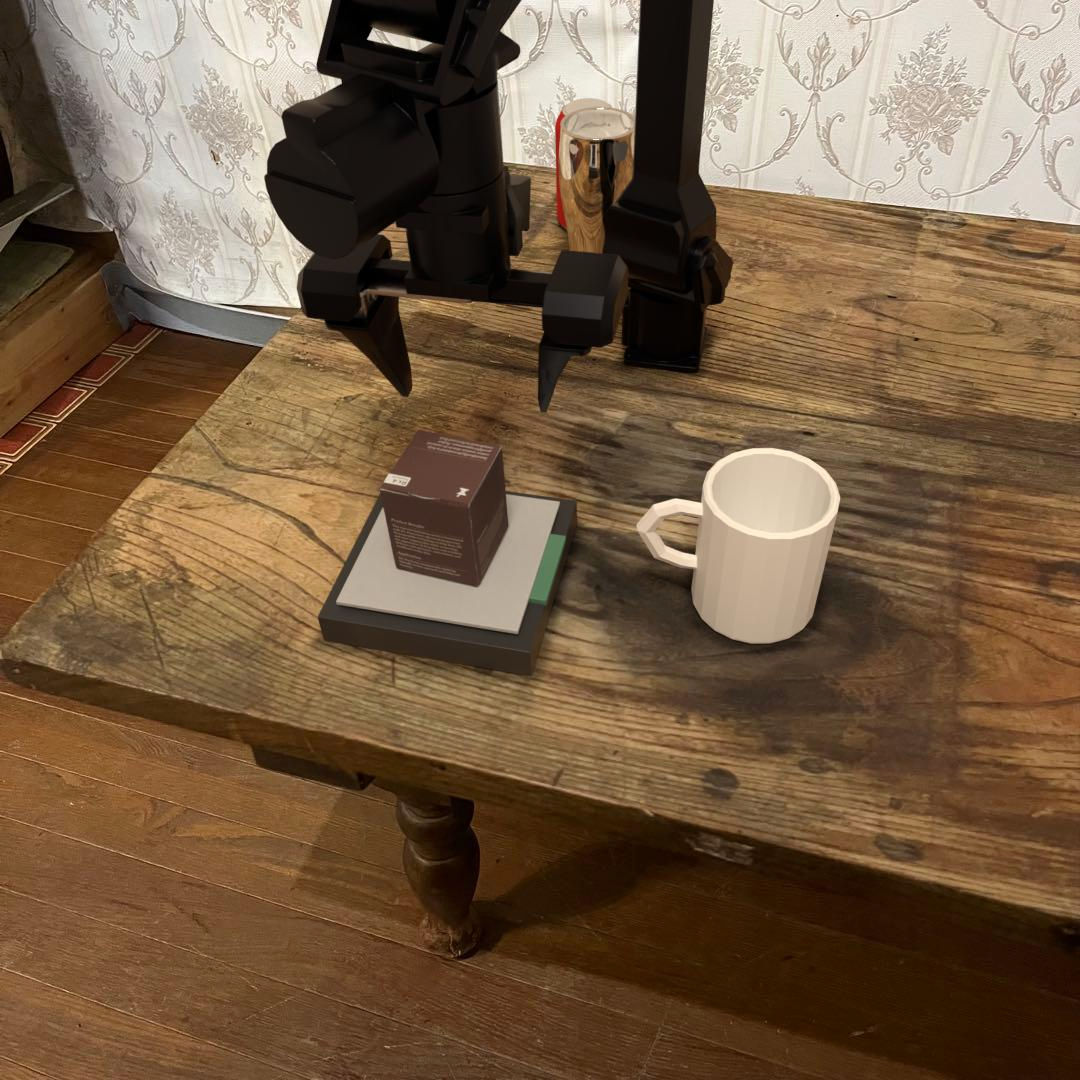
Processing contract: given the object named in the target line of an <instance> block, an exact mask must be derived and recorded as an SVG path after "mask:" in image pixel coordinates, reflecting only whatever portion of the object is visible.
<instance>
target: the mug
mask: <svg viewBox="0 0 1080 1080" xmlns="http://www.w3.org/2000/svg"><path fill="white" fill-rule="evenodd" d="M840 501H841V495H840V491H839V487H838V485H837V483H836V481H835V480H834V478H832V476H831V475H830V474H829V472H828V471H827V470H826V469H825V468H823V467H822V466H820V464H817V462H815V461H814V460H812V459H810V458H808V457H806V456H804V455H801V454H799V453H797V452H794V451H791V450H786V449H780V448H776V447H775V448H774V447H753V448H752V447H751V448H748V449H743V450H740V451H735V452H732V453H730V454H728V455H726V456H725V457H723V458H720V459H719V460H717V461H716V462H715V463H713V465H712V466H711V468H710V469H708V471H706V475H705V478H704V481H703V484H702V489H701V499H700V502H699V501H694V500H687V499H682V498H676V497H675V498H671V499H668V500H665V501H661V502H657V503H653V504H652V505H651V506H650V508H649V509H648V510H647V511H646V513H644V515H643V516H642V517H641V519H639V521H638V522H637V523H636V524H635V526H636V531H637V533H638V535H639V536H640V537H641V540H642V541H643V542H644V544H645V546H646V547H647V549H648V551H649V552H650V554H651V555H652V557H653V558H654V559H656V560H659V561H661V562H664V563H667V564H669V565H671V566H674V567H677V568H678V569H679V568H680V569H688V570H692V571H693V572H692V579H691V581H692V582H691V588H690V589H691V596H692V597H691V598H692V604H693V606H694V608H695V610H696V611H697V613H698V615H699V617H700V619H701V620H702V621H703V622H704V623H706V624H707V625H708V626H709V627H710V628H711V629H712V630H713V631H715V632H717V633H718V634H720V635H722V636H724V637H727V638H728V639H730V640H734V641H737V642H740V643H741V642H742V643H746V644H752V645H753V644H754V645H759V644H761V645H762V644H766V645H767V644H774V643H777V642H781V641H785V640H788V639H790V638H792V637H794V636H795V635H796V634H798V633H799V632H801V631H803V630H804V629H805V627H806V626H807V625H808V624H809V622H810V621H811V620H812V618H813V616H814V612H815V608H816V604H817V600H818V596H819V591H820V587H821V583H822V579H823V575H824V570H825V565H826V562H827V558H828V553H829V549H830V546H831V542H832V537H833V533H834V529H835V525H836V521H837V516H838V512H839V507H840ZM681 516H687V517H692V518H693V517H694V518H698V525H697V526H698V527H697V535H696V544H695V553H694V554H692V553H687V552H682V551H680V550H677V549H675V548H672V547H670V546H668V545H666V544H665V543H664V540H662V538H661V536H660V535H659V533H658V532H657V530H656V529H658V527H660V525H661V524H662V523H663V522H664V520H668V519H671V518H672V519H673V518H676V517H681Z"/></svg>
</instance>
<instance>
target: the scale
mask: <svg viewBox="0 0 1080 1080" xmlns="http://www.w3.org/2000/svg"><path fill="white" fill-rule="evenodd" d="M506 502H507V514H508V525H509V526H508V528H507V530H506V532H505V534H504V536H503V538H502V540H501V542H500V544H499V546H498V548H497V550H496V552H495V554H494V556H493V558H492V560H491V562H490V564H489V566H488V568H487V570H486V572H485V574H484V576H483V578H482V580H481V582H480V584H479V585H478V586H474V585H470V584H466V583H461V582H457V581H452V580H448V579H444V578H439V577H435V576H431V575H426V574H421V573H417V572H412V571H408V570H404V569H399V568H396V565H395V560H394V556H393V552H392V547H391V541H390V537H389V532H388V527H387V523H386V518H385V513H384V508H383V504H382V498H381V495H380V494H379V495H378V497H377V498H376V500H375V502H374V504H373V507H372V508H371V510H370V512H369V514H368V516H367V517H366V518H367V519H366V521H365V522H364V524H363V526H362V528H361V530H360V532H359V533H358V536H357V538H356V540H355V542H354V544H353V545H352V548H351V550H350V552H349V554H348V556H347V558H346V559H345V562H344V563H343V566H342V568H341V569H340V572H339V573H338V576H337V577H336V579H335V582H334V583H333V585H332V587H331V589H330V591H329V593H328V594H327V597H326V599H325V601H324V603H323V605H322V606H321V609H320V611H319V613H318V615H317V620H318V624H319V628H320V631H321V634H322V635H321V636H322V638H323V641H325V642H331V643H337V644H342V645H348V646H354V647H359V648H365V649H372V650H377V651H383V652H388V653H395V654H400V655H407V656H412V657H418V658H424V659H429V660H435V661H442V662H446V663H453V664H459V665H464V666H469V667H477V668H482V669H488V670H494V671H499V672H505V673H510V674H515V675H521V676H522V675H523V676H527V677H528V676H529V677H531V676H532V675H533V672H534V668H535V665H536V663H537V659H538V655H539V652H540V649H541V646H542V643H543V638H544V636H545V632H546V629H547V625H548V623H549V619H550V616H551V612H552V609H553V606H554V603H555V599H556V596H557V593H558V589H559V585H560V583H561V579H562V576H563V572H564V569H565V566H566V562H567V559H568V556H569V553H570V549H571V545H572V543H573V539H574V537H575V532H576V530H577V526H578V500H575V499H568V498H560V497H553V496H547V495H540V494H539V495H538V494H532V493H525V492H518V491H517V492H516V491H512V490H511V491H510V490H506Z"/></svg>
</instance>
